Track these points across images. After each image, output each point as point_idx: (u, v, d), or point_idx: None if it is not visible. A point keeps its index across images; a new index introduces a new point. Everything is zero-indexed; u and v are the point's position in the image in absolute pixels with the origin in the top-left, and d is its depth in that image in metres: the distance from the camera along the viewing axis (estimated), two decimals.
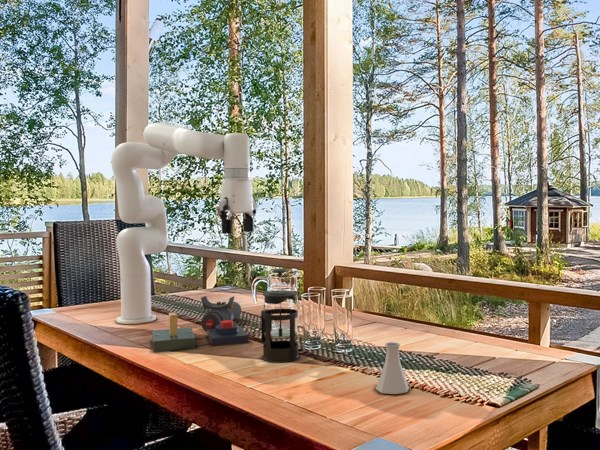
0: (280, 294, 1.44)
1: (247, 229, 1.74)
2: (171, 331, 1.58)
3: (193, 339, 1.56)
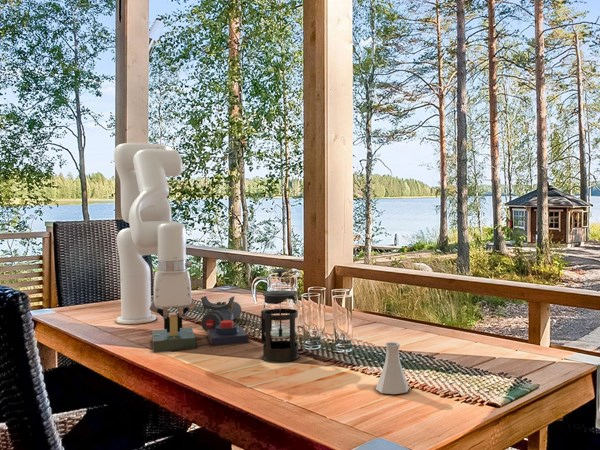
0: (280, 294, 1.44)
1: None
2: (171, 331, 1.58)
3: (193, 339, 1.56)
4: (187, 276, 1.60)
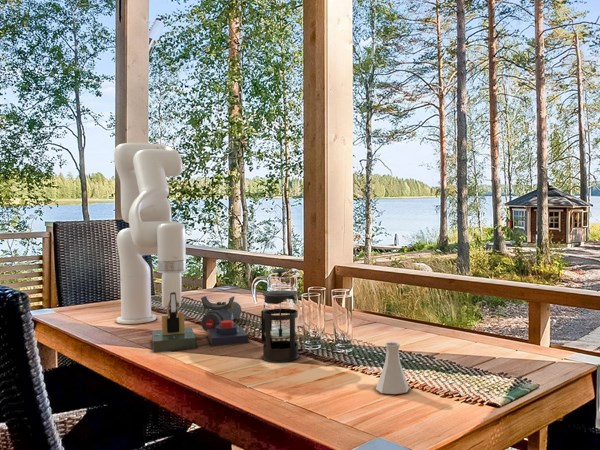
0: (280, 294, 1.44)
1: None
2: (184, 328, 1.62)
3: (193, 339, 1.56)
4: None
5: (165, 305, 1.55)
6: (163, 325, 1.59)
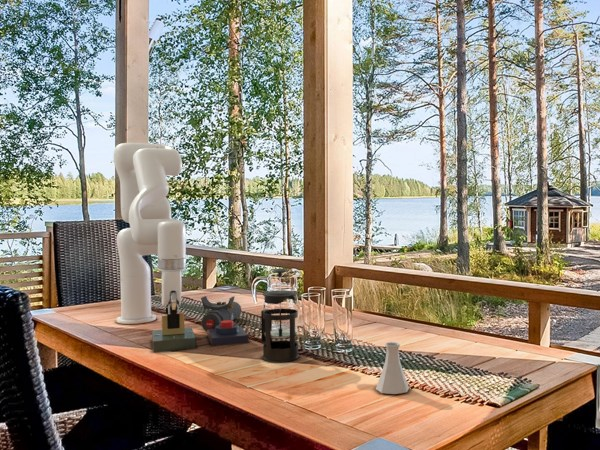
0: (280, 294, 1.44)
1: None
2: (184, 328, 1.62)
3: (193, 339, 1.56)
4: None
5: (165, 303, 1.56)
6: (163, 325, 1.59)
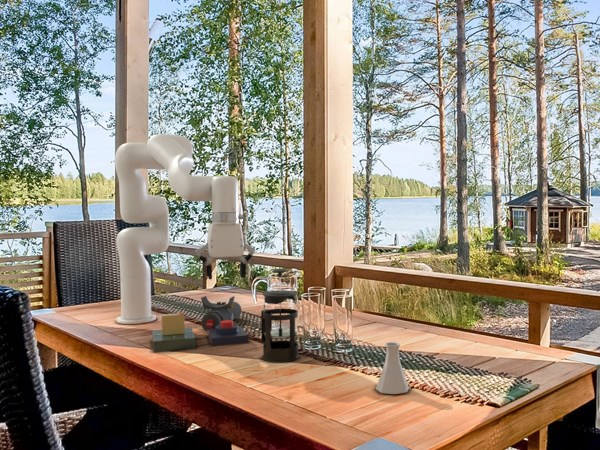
0: (280, 294, 1.44)
1: (240, 274, 1.67)
2: (184, 328, 1.62)
3: (193, 339, 1.56)
4: (240, 228, 1.65)
5: (207, 253, 1.66)
6: (163, 325, 1.59)
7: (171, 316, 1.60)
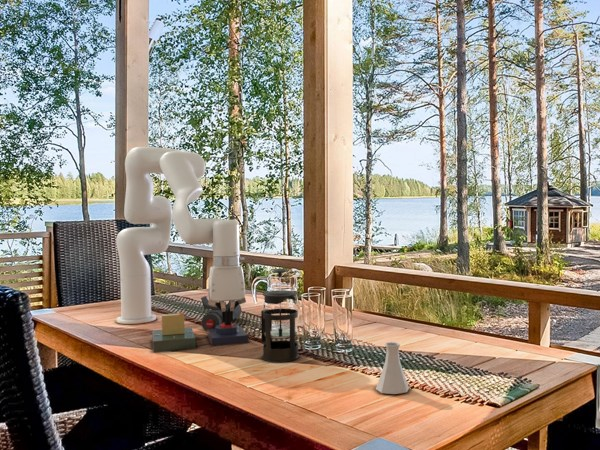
0: (280, 294, 1.44)
1: None
2: (184, 328, 1.62)
3: (193, 339, 1.56)
4: (241, 271, 1.66)
5: None
6: (163, 325, 1.59)
7: (171, 316, 1.60)
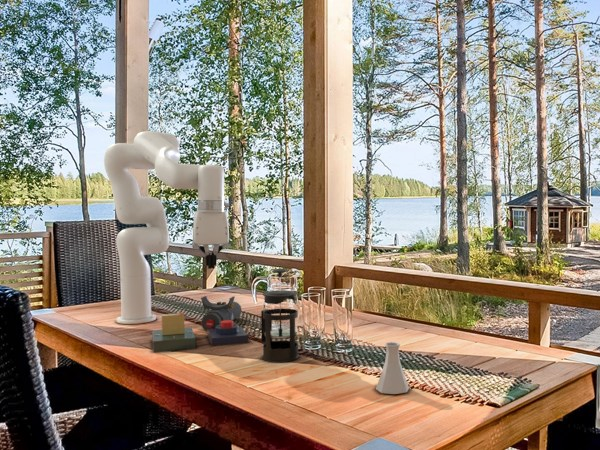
0: (280, 294, 1.44)
1: None
2: (184, 328, 1.62)
3: (193, 339, 1.56)
4: (225, 216, 1.68)
5: (193, 240, 1.69)
6: (163, 325, 1.59)
7: (171, 316, 1.60)
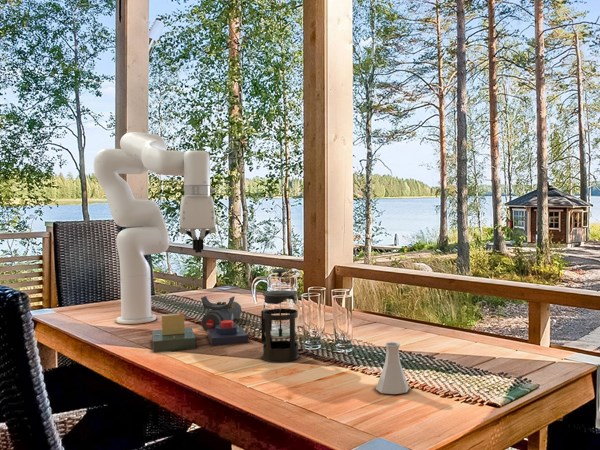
0: (280, 294, 1.44)
1: (198, 250, 1.72)
2: (184, 328, 1.62)
3: (193, 339, 1.56)
4: (211, 201, 1.71)
5: (180, 225, 1.72)
6: (163, 325, 1.59)
7: (171, 316, 1.60)
